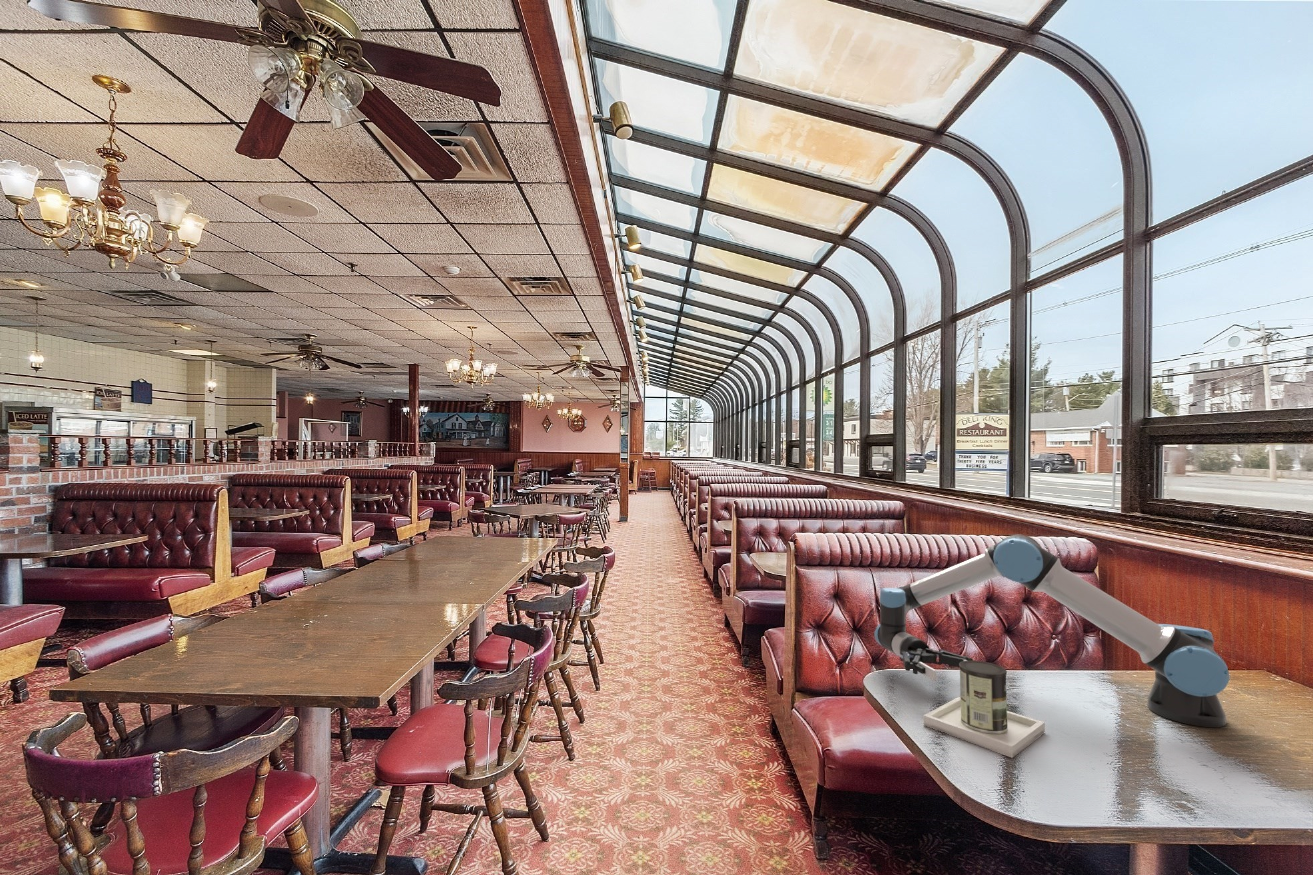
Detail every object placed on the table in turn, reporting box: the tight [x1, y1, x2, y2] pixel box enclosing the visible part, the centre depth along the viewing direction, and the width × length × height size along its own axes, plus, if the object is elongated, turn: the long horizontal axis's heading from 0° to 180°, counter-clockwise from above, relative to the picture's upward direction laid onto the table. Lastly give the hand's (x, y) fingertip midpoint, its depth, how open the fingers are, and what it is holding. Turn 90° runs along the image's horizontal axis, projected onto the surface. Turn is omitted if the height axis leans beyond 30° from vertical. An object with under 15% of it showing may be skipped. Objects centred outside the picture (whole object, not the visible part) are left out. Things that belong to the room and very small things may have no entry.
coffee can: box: [958, 659, 1008, 734], centre depth 142 cm, size 10×10×14 cm
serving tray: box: [923, 695, 1046, 759], centre depth 141 cm, size 20×20×2 cm
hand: (958, 674), depth 150 cm, fingers open, 13 cm apart
